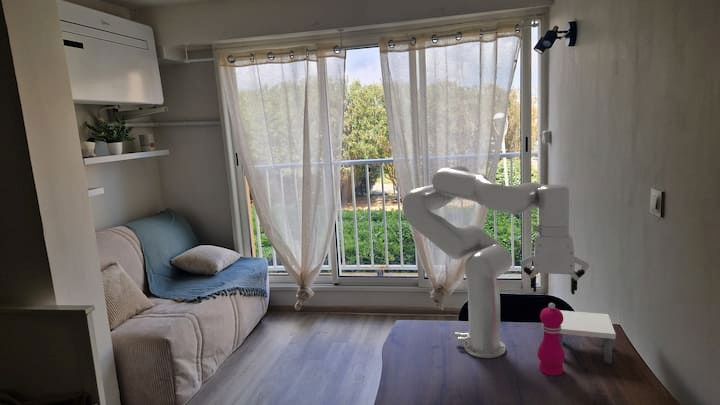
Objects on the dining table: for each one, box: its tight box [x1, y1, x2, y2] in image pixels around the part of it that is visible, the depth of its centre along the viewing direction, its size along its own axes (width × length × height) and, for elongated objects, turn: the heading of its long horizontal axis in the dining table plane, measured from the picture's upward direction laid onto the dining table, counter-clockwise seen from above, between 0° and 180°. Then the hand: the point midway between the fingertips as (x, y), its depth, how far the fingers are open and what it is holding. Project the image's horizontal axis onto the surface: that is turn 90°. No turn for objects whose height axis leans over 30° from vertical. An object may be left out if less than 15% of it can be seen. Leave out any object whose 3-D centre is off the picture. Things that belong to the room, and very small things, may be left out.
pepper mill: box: [536, 302, 566, 377], centre depth 129 cm, size 7×7×20 cm
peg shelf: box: [559, 309, 617, 365], centre depth 139 cm, size 16×14×10 cm
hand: (553, 291), depth 126 cm, fingers open, 9 cm apart
